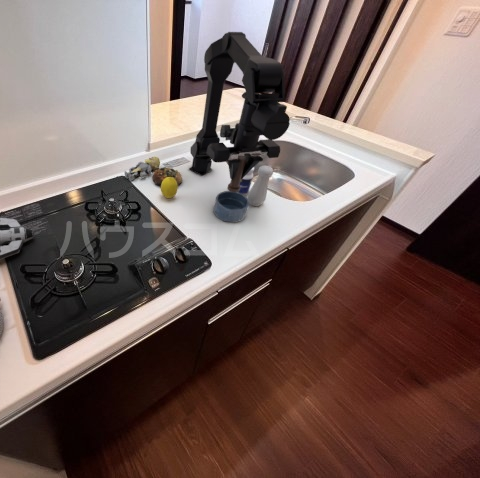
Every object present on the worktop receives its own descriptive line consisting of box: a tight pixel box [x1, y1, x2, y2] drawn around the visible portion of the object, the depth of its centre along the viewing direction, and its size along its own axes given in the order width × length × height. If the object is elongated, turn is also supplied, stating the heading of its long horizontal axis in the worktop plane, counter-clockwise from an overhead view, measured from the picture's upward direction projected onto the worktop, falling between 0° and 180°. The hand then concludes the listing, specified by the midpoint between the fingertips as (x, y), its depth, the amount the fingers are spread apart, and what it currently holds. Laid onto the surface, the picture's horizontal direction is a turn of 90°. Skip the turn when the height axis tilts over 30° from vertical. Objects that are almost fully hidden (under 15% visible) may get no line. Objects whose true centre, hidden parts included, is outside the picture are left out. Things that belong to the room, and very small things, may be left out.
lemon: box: [160, 177, 179, 199], centre depth 85 cm, size 6×6×8 cm
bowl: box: [213, 190, 250, 223], centre depth 81 cm, size 10×10×5 cm
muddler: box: [227, 154, 247, 192], centre depth 73 cm, size 4×4×10 cm
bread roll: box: [152, 166, 183, 187], centre depth 94 cm, size 11×11×5 cm
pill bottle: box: [238, 166, 255, 197], centre depth 88 cm, size 6×6×10 cm
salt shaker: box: [247, 165, 274, 207], centre depth 82 cm, size 6×6×13 cm
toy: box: [124, 156, 161, 182], centre depth 97 cm, size 8×5×15 cm
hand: (236, 178), depth 75 cm, fingers closed on muddler, 2 cm apart
